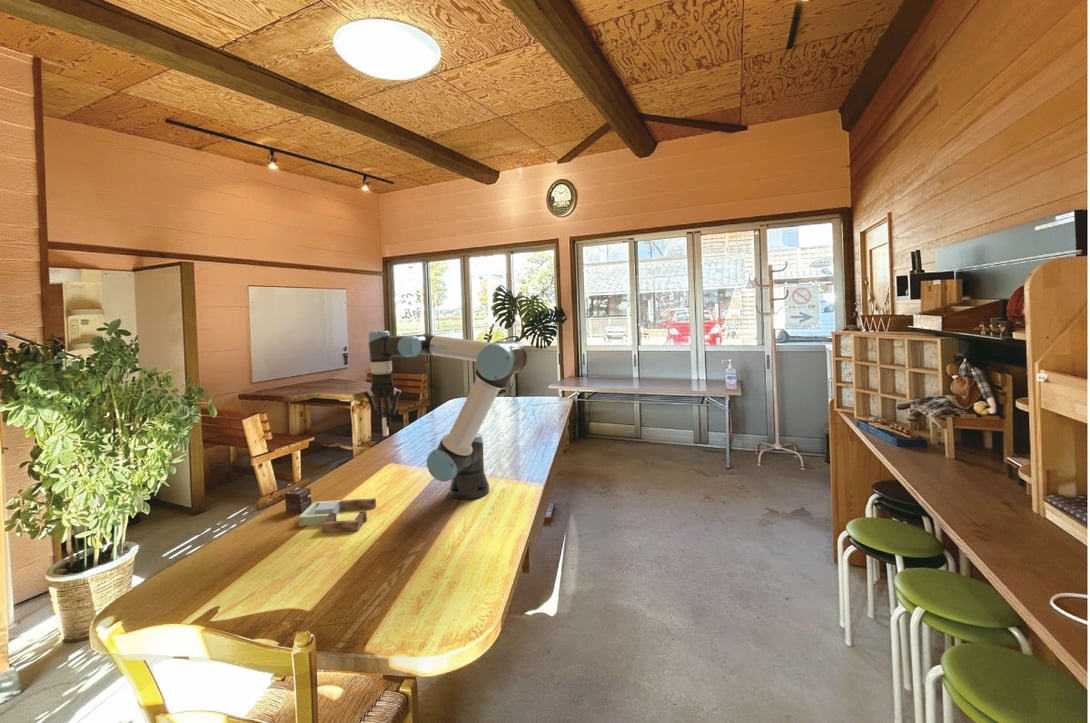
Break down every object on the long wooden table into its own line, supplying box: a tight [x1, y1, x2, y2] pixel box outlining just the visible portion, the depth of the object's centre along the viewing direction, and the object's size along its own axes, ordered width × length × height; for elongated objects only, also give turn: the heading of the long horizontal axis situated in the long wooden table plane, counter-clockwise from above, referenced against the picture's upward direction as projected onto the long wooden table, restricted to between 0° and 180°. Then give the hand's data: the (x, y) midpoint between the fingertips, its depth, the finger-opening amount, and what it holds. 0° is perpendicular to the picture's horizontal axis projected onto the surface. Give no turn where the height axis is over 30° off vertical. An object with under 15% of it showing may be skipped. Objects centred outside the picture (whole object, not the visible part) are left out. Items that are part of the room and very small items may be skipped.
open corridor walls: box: [321, 497, 377, 534], centre depth 159 cm, size 12×20×3 cm, turn 5°
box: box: [284, 487, 313, 515], centre depth 167 cm, size 6×6×7 cm
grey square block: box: [314, 502, 340, 517], centre depth 161 cm, size 6×6×4 cm
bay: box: [298, 499, 342, 527], centre depth 161 cm, size 10×13×3 cm
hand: (385, 435), depth 175 cm, fingers closed
